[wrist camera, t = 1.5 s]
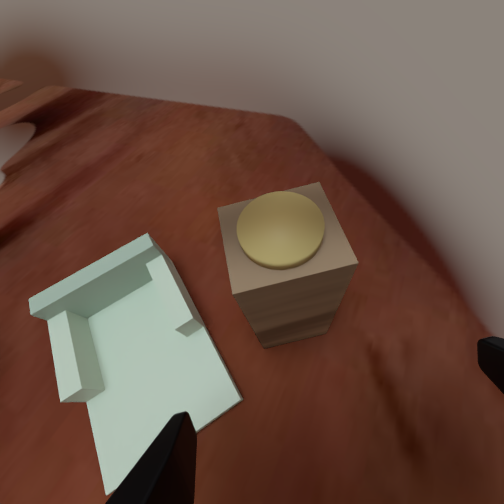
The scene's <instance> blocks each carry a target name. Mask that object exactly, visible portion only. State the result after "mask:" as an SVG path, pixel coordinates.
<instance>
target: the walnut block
mask: <svg viewBox="0 0 504 504" xmlns="http://www.w3.org/2000/svg"><path fill="white" fill-rule="evenodd" d="M217 209H218V215H219V221H220V226H221V232H222V237H223V243H224V249H225V254H226V260H227V266H228V271H229V277H230V283H231V288H232V294H233V296H234V298H235V299H236V301H237V303H238V305H239V306H240V308H241V310H242V312H243V313H244V315H245V317H246V318H247V320H248V322H249V324H250V325H251V327H252V329H253V331H254V332H255V334H256V336H257V338H258V339H259V341H260V343H261V344H262V346H263V348H264V349H266V348H270V347H274V346H278V345H282V344H286V343H290V342H294V341H298V340H302V339H306V338H310V337H315V336H319V335H323V334H326V333H327V331H328V328H329V326H330V324H331V322H332V320H333V317H334V315H335V313H336V311H337V309H338V307H339V304H340V302H341V300H342V298H343V296H344V293H345V291H346V289H347V287H348V285H349V282H350V280H351V278H352V276H353V274H354V271H355V269H356V267H357V265H358V261H357V259H356V257H355V255H354V253H353V251H352V249H351V247H350V244H349V242H348V240H347V238H346V236H345V234H344V232H343V230H342V228H341V226H340V224H339V222H338V220H337V218H336V216H335V213H334V211H333V209H332V207H331V205H330V203H329V201H328V199H327V197H326V195H325V193H324V191H323V189H322V187H321V185H320V182H317V183H313V184H309V185H305V186H301V187H297V188H293V189H289V190H285V191H279V192H272V193H268V194H264V195H262V196H260V197H258V198H254V199H250V200H247V201H243V202H239V203H235V204H231V205H227V206H223V207H219V208H217Z"/></svg>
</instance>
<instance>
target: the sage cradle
mask: <svg viewBox="0 0 504 504" xmlns="http://www.w3.org/2000/svg"><path fill="white" fill-rule="evenodd" d="M29 306H30V314H31V315H32V316H35V317H38V318H41V319H44V320H47V322H48V328H49V334H50V340H51V347H52V353H53V359H54V365H55V371H56V378H57V384H58V390H59V396H60V402H87V407H88V412H89V416H90V421H91V426H92V431H93V435H94V440H95V445H96V450H97V454H98V459H99V464H100V469H101V473H102V478H103V483H104V488H105V492H106V495H108V494H110V493H112V492H114V491H115V490H116V489H117V487H118V486H119V485H120V484H121V482H122V481H123V480H124V478H125V477H126V476H127V474H128V473H129V472H130V471H131V469H132V468H133V467H134V465H135V464H136V463H137V461H138V460H139V459H140V457H141V456H142V455H143V454H144V452H145V451H146V450H147V448H148V447H149V446H150V444H151V443H152V442H153V441H154V439H155V438H156V437H157V435H158V434H159V433H160V431H161V430H162V429H163V427H164V426H165V425H166V424H167V422H168V421H169V420H170V418H171V417H172V416H173V415H174V414H176V413H180V412H184V411H187V412H188V413H189V415H190V417H191V420H192V422H193V425H194V428H195V430H196V433H197V432H199V431H200V430H201V429H203V428H204V427H206V426H207V425H208V424H210V423H211V422H213V421H214V420H215V419H217V418H218V417H220V416H221V415H222V414H224V413H225V412H227V411H228V410H229V409H231V408H232V407H234V406H235V405H236V404H238V403H239V402H241V401H242V400H243V398H242V396H241V394H240V392H239V390H238V388H237V386H236V384H235V382H234V380H233V379H232V377H231V375H230V373H229V371H228V369H227V367H226V365H225V363H224V361H223V359H222V357H221V355H220V353H219V351H218V349H217V347H216V346H215V344H214V342H213V340H212V338H211V336H210V334H209V332H208V330H207V328H206V326H205V324H204V322H203V320H202V318H201V316H200V315H199V313H198V311H197V309H196V307H195V305H194V303H193V301H192V299H191V297H190V295H189V293H188V291H187V289H186V287H185V285H184V283H183V282H182V280H181V278H180V276H179V274H178V272H177V270H176V268H175V266H174V264H173V262H172V261H171V259H170V258H169V257H168V256H167V255H166V254H165V253H164V251H163V250H162V249H161V248H160V247H159V246H158V245H157V243H156V242H155V241H154V240H153V239H152V238H151V237H150V235H149V234H148V233H146V234H145V235H143V236H141V237H139V238H137V239H136V240H134V241H132V242H130V243H128V244H127V245H125V246H123V247H121V248H119V249H118V250H116V251H114V252H112V253H110V254H109V255H107V256H105V257H103V258H101V259H100V260H98V261H96V262H94V263H92V264H91V265H89V266H87V267H85V268H83V269H82V270H80V271H78V272H76V273H75V274H73V275H71V276H69V277H67V278H66V279H64V280H62V281H60V282H58V283H57V284H55V285H53V286H51V287H49V288H48V289H46V290H44V291H42V292H40V293H39V294H37V295H35V296H33V297H31V298H30V299H29Z"/></svg>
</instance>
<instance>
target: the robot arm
mask: <svg viewBox="0 0 504 504" xmlns="http://www.w3.org/2000/svg"><path fill="white" fill-rule="evenodd" d="M477 351H478V364H479V366H480V368H481V370H482V371H483V372H484V373H485V374H486V375H487V377H488V378H489V379H490V380H491V381H492V382H493V383H494V384H495V385H496V386H497V387H498V388H499V389H500V391H501V392H502V393H503V394H504V339H503V338H499V337H495V336H491V337H487V338H483V339H480V340H479V341H478V342H477ZM196 449H197V434H196V430H195V428H194V425H193V422H192V420H191V417H190V415H189V413H188V412H187V411H184V412H180V413H176V414H174V415H173V416H172V417H171V418H170V420H169V421H168V422H167V424H166V425H165V426H164V427H163V429H162V430H161V431H160V433H159V434H158V435H157V437H156V438H155V439H154V441H153V442H152V443H151V444H150V446H149V447H148V448H147V450H146V451H145V452H144V454H143V455H142V456H141V457H140V459H139V460H138V461H137V463H136V464H135V465H134V467H133V468H132V469H131V471H130V472H129V473H128V474H127V476H126V477H125V478H124V480H123V481H122V482H121V484H120V485H119V486H118V487H117V489H116V490H115V491H114V493H113V494H112V495H111V497H110V498H109V499H108V501H107V502H106V503H105V504H194V492H195V471H196Z"/></svg>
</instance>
